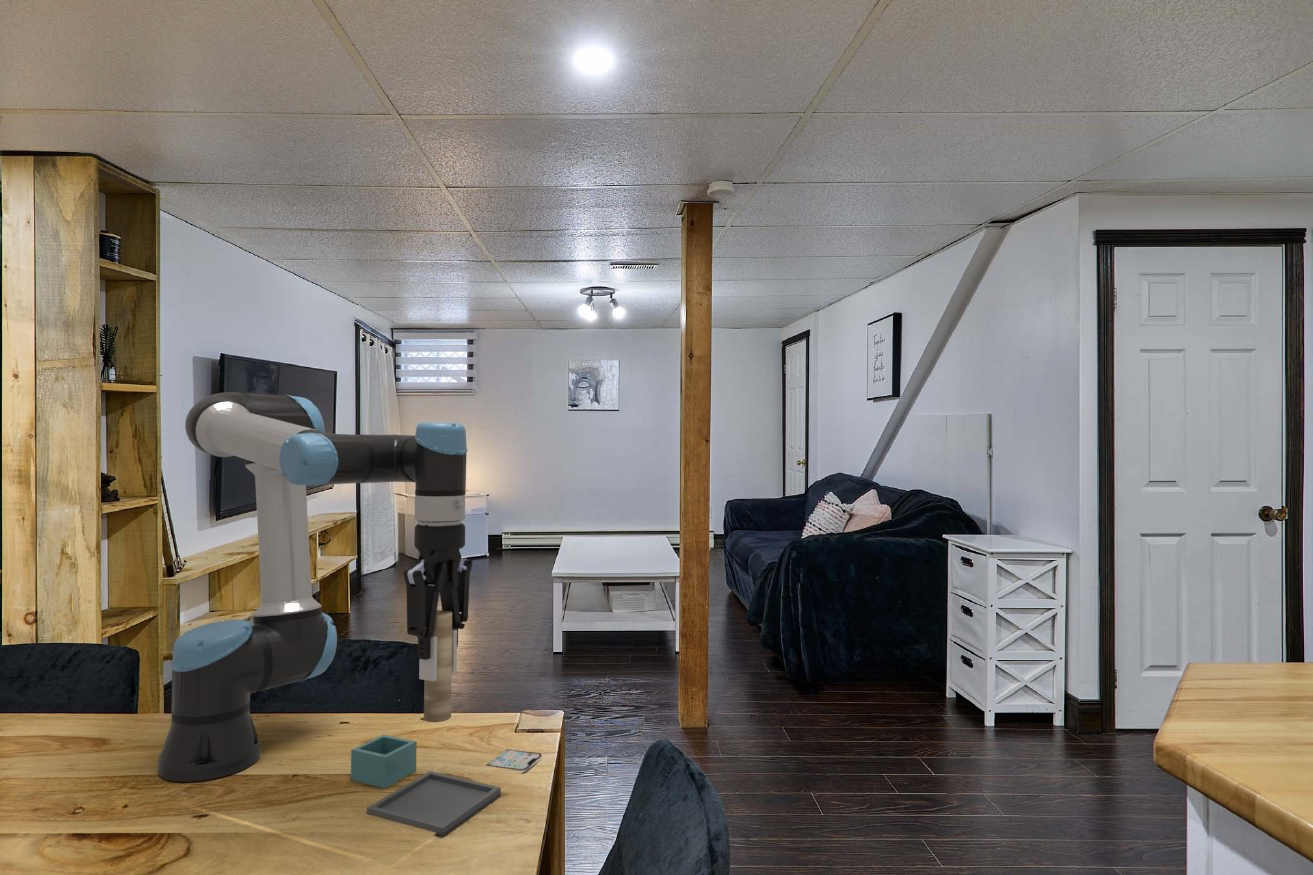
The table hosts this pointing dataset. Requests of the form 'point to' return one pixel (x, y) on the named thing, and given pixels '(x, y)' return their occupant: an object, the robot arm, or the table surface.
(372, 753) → the teal open box
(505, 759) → the smartphone
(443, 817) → the tray
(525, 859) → the table surface
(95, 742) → the table surface
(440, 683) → the dowel
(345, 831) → the table surface
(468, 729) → the table surface
